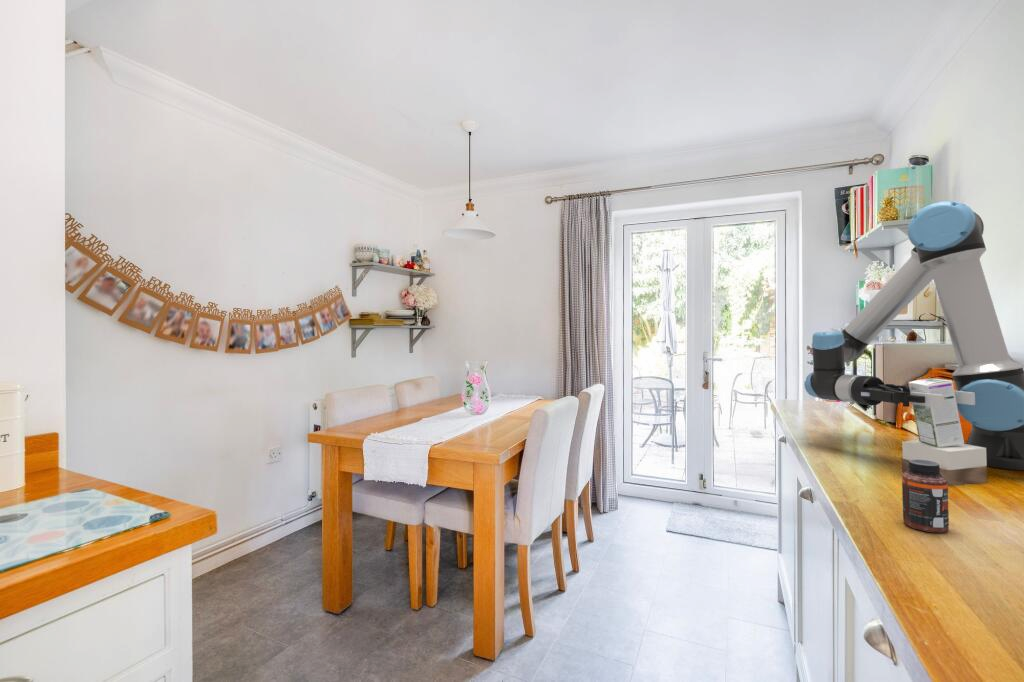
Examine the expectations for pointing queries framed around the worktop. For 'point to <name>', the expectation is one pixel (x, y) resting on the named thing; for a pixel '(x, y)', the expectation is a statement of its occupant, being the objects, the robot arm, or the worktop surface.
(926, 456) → the tower top block
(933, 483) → the supplement bottle
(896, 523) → the worktop surface
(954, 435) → the syrup box
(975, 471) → the tower base block
